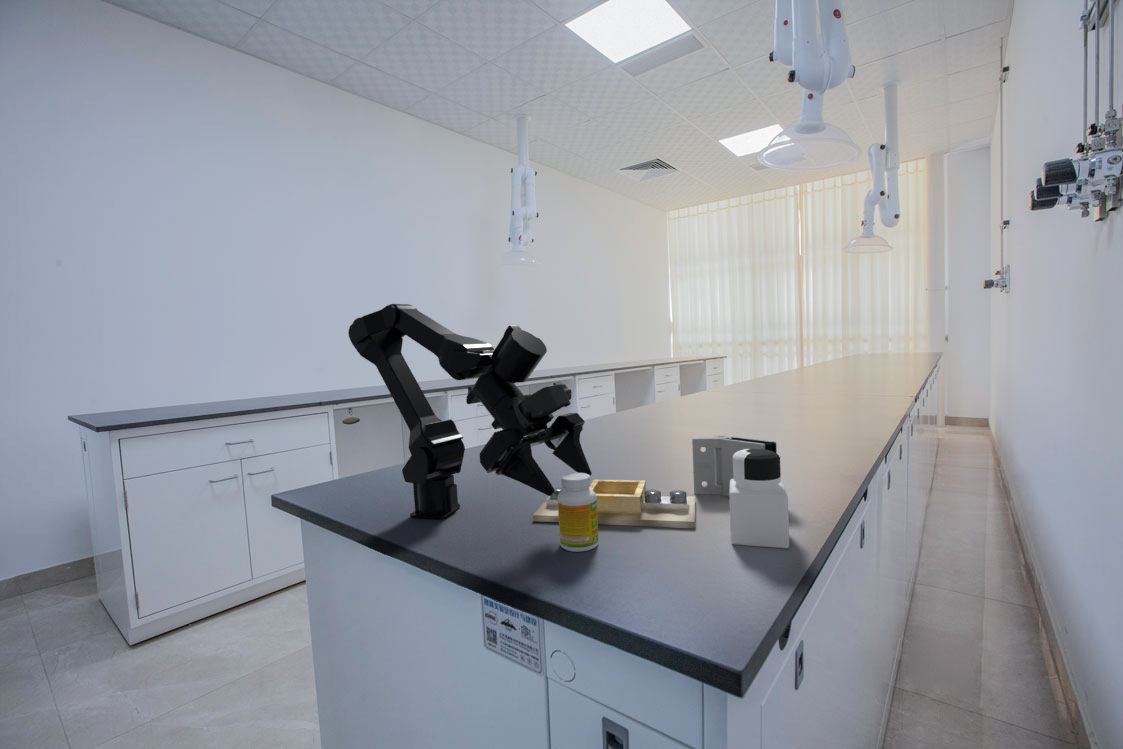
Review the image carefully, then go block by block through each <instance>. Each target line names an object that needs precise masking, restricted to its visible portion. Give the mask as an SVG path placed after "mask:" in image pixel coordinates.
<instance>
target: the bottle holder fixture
mask: <svg viewBox="0 0 1123 749" xmlns="http://www.w3.org/2000/svg"><path fill="white" fill-rule="evenodd" d="M553 488H554V490H555V491H554V493H553V494H552V495H551V496H548V497H547V498H546V499H545V501H546V507H558V495H559V493H560V492H561V491H562V490H564V488H562V486H561V487H559V486H556V487H553ZM589 489H591V490H593V491H594V492H595V494H596V500H597V514H602V515H627V516H641V514H642V511H643V510H652V511H679V512H688V505H689V504H688V497H687V496H688V495H687V492H686V491H684V490H678V489H677V490H672V491H669V495H662V493H661V491H660V490H658V489H647V480H642V479H640V480H638V479H637V480H633V479H632V480H631V479H628V480H627V479H593V480H592V481H591V482H590V487H589Z"/></svg>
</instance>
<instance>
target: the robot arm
mask: <svg viewBox="0 0 1123 749" xmlns="http://www.w3.org/2000/svg"><path fill="white" fill-rule="evenodd" d="M347 333H348V338H349V341H350V343H351V344H352V346H353V348H355V350H356V352H358V354H359V355H360V357H362V358H363V359H364V360H367V361H368V362H370V363H372V364H373V365H374V366H375V367H376V369H377V371H378V373H379V374H380V376H381V378H382V380H383V382H384V384H385V386H386V387H387V389H388V391H389V393H390V395H391V397H392V399H393V401H394V403H395V405H396V406H397V409H398V410H399V412H400V414H401V416H402V418H403V420H404V421H405V423H406V426H407V427H408V429H409V438H408V450H409V453H410V456H409V459H408V460H407V462H406V463H405V465H404V466H403V468H402V470H401V472H402V475H403V479H404V482H405V483H409V484H412V487H413V488H412V489H413V502H414V511H413V512H411V513H409V517H410V518H418V519H419V518H420V519H422V518H423V519H439V520H440V519H441V520H442V519H445V518H446V517H448V516H450V514H453V513H454V512H455V511H456V510H458V509H459V508H460V507H461V504H460V503H459V500H458V498H459V497H458V485H457V484H456V483H455V476H454V475H456V474H460V473H461V470H462V466H463V459H464V456H465V451H466V448H465V443H464V442H463V439H464V436H463V435H462V434H461V433H460V432H459V430H458V428H457V426H456V423H455V422H454V421H453V420H452V419H451V418H448V419H445V420H442V419H440V418H439V417H437V415H436V414H435V412H434V409H433V408H432V407H431V405H430V402H429V401H428V399H427V397H426V395H425V393H424V391H423V390H422V388H421V386H420V384H419V382H418V381H417V379H416V377H415V376H414V374H413V372H412V370H411V369H410V367H409V364H408V363H407V361H406V359H405V357H404V355H403V354H402V353H403V352H402V348H403V342H404V339H403V338H404V337H405V336H407V337H408V338H410V339H411V340H413V341H414V342H416V343H417V344H419V345H420V346H421V347H423V348H425V350H427V351H429V352H431V353H432V354H434V355H435V356H436V357H437V359H438V363H439V366H440V367H441V368H442V369H443V370H444V371H445V372H446V373H447V374H448V375H449V376H450V377H451V378H452V379H454V380H456V381H467V380H474V379H477V380H476V381H475V383H474V385H471V386H468V387H467V395H466V404H467V405H472V404H478V403H480V404H482V405H483V407H484V408H485V409H486V410H487V412H488V413H489V415H490V416H491V417H492V418H493V421H492V422H491V424H490V426H492V428H493V429H494V430H496V431H494V432H493V434H492V435H491V437H490V438H489V439H488V441H487V442H486V444H485V445H484V446H483V448H482V450H480V452H479V463H480V465H481V466H482V467H483V469H484V471H485V472H486V473H487V474H490V473H492V472H495V474H496V475H497V476H505V477H507V478H509V479H510V480H511V479H512V480H515V481H517V482H519V483H521V484H523V485H525V486H527V487H530V488H532V489H533V490H536V491H538V492H540V493H542V494H543V495H546V496H548V497H549V496H551V495H552V494H553V493H554V491H555V490H554V488H555V487H553V485H552V483H551V482H550V480H549V479H548V477H547V475H546V474H545V473H544V471H543V469H542V468H541V467H540V466H539V464H538V463H537V460H535V459H534V457H533V452H532V451H533V450H532V447H534V446H538V445H540V444H545V446H546V447H547V449H548V448H549V449H550V450H553V452H552V455H553V456H555V457H556V458H558V459H559V460H560V461H562V462H563V463H564V464H565V465H566V466H568V467H570V469H572V470H574V471H575V473H586V474H588V475H590V477H591V476H592V471H591V467H590V465H589V463H588V460H587V458H586V455H585V453H584V450H583V447H582V444H581V440H580V439H581V433H582V432H583V430H584V428H583V426H584V425H585V423H586V422H585V420H584V418H582V417H581V415H580V414H579V413H578V412H568V413H564V414H560V415H558V416H557V417H556V419H554V417H555V416H554V415H553V413H555V412H557V411H558V410H561V409H563V408H564V407H565V408H567V407H569V406H571V399H572V389H571V388H569V387H568V386H567V385H566V384H564V382H562V381H555V382H553V384H552V385H548V386H545V387H543V388H540V389H539V390H537V391H535V392H534V393H532V394H531V393H530V394H524V393H523V392H522V391H521V389H520V388H519V387H518V386H517V385H516V384H517V383H525V382H527V380H528V379H529V377H530V376H531V374H532V373H533V372H534V370H535V369H536V368H537V366H538V365H539V364H540V362H541V360H542V359H543V358H544V356H545V355H546V354H547V352H548V351H547V350H548V348H547V346H546V344H545V343H544V342H543V340H541V339H540V338H539V337H537V336H535V335H534V334H532V333H530V332H528V331H526V330H523V329H522V328H521V327H520V326H519V325H507V328H506V329H505V331H504V333H503V336H502V337H501V339H500V341H499V342H498V344H497V345H496V347H495V348H494V347H493V345H492V344H490V343H488V342H486V341H483V340H479V339H477V338H474V337H468V336H465V335H460V334H458V333H455V332H454V331H453V330H451V329H448V328H447V327H445V326H443V325H442V324H440V323H439V322H437V321H435V320H434V319H433V318H431V317H429V316H428V315H426V314H424V313H422V312H421V311H419V310H418V308H417V307H416V306H414V305H413V304H409V303H408V304H407V303H405V304H404V303H391V304H389V305H386V306H384V307H383V308H381V309H379V310H377V311H374V312H371V313H368V314H365V315H363V316H361V317H357V318H355V319H354V321H353V322H352V323H351V324H350V325H349V327H348V332H347ZM553 419H554V421H553V422H552V424H550V426H548V423H551V421H552V420H553ZM497 429H498V431H497ZM499 429H502V430H499Z"/></svg>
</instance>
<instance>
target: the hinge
mask: <svg viewBox="0 0 1123 749" xmlns="http://www.w3.org/2000/svg"><path fill="white" fill-rule="evenodd" d="M691 440H692V442H691V443H692V466H693V467H692V468H693V472H692V473H693V474H692V475H693V494H694V495H722V496H726V497H729V491H730V480H731V479H733V455H734V454H735V453H736V452H738V451H740V450H743V449H766V450H770V451H772V452H775V453H777V442H776V441H775V440H765V439H760V438H750V437H742V436H735V435H733V436H731V437H730V436H728V435H714V436H713V437H693V438H691ZM701 448H704V451H701ZM777 454H778V453H777ZM703 482H706V485H703V484H702V483H703Z"/></svg>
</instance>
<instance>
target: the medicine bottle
mask: <svg viewBox="0 0 1123 749" xmlns="http://www.w3.org/2000/svg"><path fill="white" fill-rule="evenodd" d="M781 476H782V474H781V456H780V455H779V454H778V453H775V452H772V451H770V450H766V449H743V450H740V451H738V452H736V453H735V454H734V455H733V479H731V480H730V491H729V496H728V497H729V523H730V543H731V544H732V545H737V546H748V547H749V546H751V547H761V548H762V547H763V548H774V549H775V548H776V549H789V548H790V529H789V527H790V526H789V498H788V494H787V490H786V487H785V485H784V482H783V481H782V479H781V478H782V477H781Z"/></svg>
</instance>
